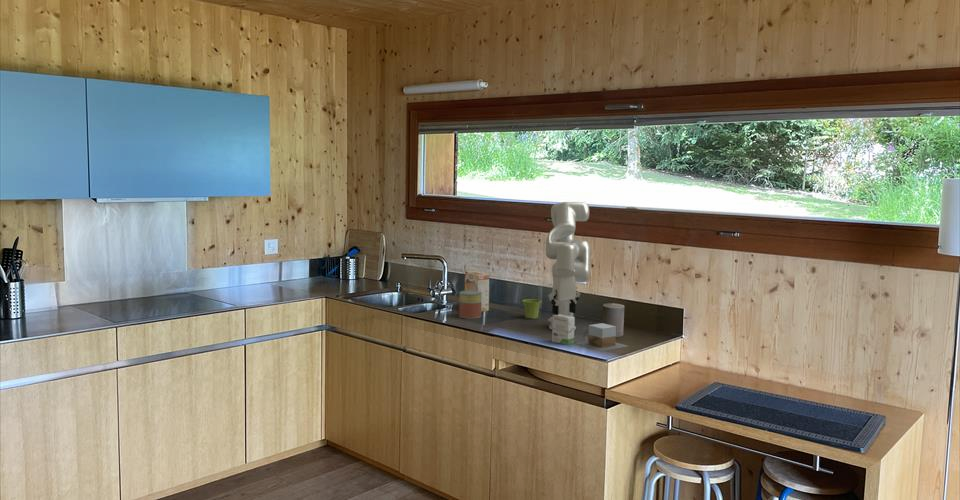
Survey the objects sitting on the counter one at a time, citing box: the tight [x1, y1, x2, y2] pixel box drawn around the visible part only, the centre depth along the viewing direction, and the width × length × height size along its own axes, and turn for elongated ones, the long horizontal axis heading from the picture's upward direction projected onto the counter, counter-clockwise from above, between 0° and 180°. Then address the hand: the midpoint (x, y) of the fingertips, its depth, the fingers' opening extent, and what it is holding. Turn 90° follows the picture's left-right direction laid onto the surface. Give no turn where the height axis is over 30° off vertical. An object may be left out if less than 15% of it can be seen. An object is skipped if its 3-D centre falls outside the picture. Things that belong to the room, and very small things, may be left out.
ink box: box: [551, 314, 576, 346], centre depth 307 cm, size 8×5×12 cm, turn 46°
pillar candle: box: [601, 302, 625, 338], centre depth 323 cm, size 10×10×15 cm
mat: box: [575, 340, 628, 352], centre depth 305 cm, size 16×16×1 cm
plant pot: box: [522, 298, 542, 320], centre depth 360 cm, size 9×9×9 cm
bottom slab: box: [587, 334, 617, 348], centre depth 305 cm, size 8×8×4 cm
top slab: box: [588, 322, 616, 338], centre depth 304 cm, size 8×8×4 cm
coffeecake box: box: [464, 269, 490, 313], centre depth 380 cm, size 15×7×20 cm, turn 28°
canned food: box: [458, 290, 482, 320], centre depth 360 cm, size 11×11×12 cm
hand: (563, 313), depth 306 cm, fingers open, 9 cm apart
